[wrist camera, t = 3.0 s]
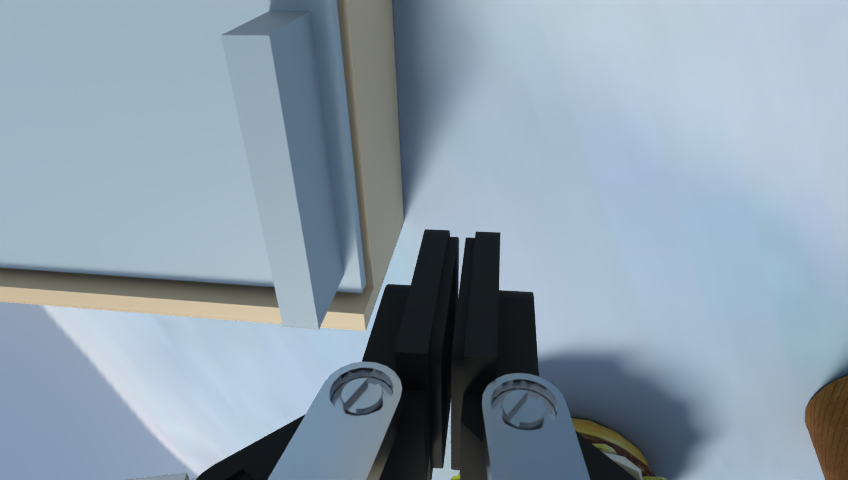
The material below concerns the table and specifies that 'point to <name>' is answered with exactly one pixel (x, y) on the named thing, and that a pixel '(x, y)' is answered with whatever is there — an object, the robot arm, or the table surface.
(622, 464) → the food
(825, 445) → the disposable coffee cup
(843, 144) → the table surface
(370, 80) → the mailer box
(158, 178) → the lid
